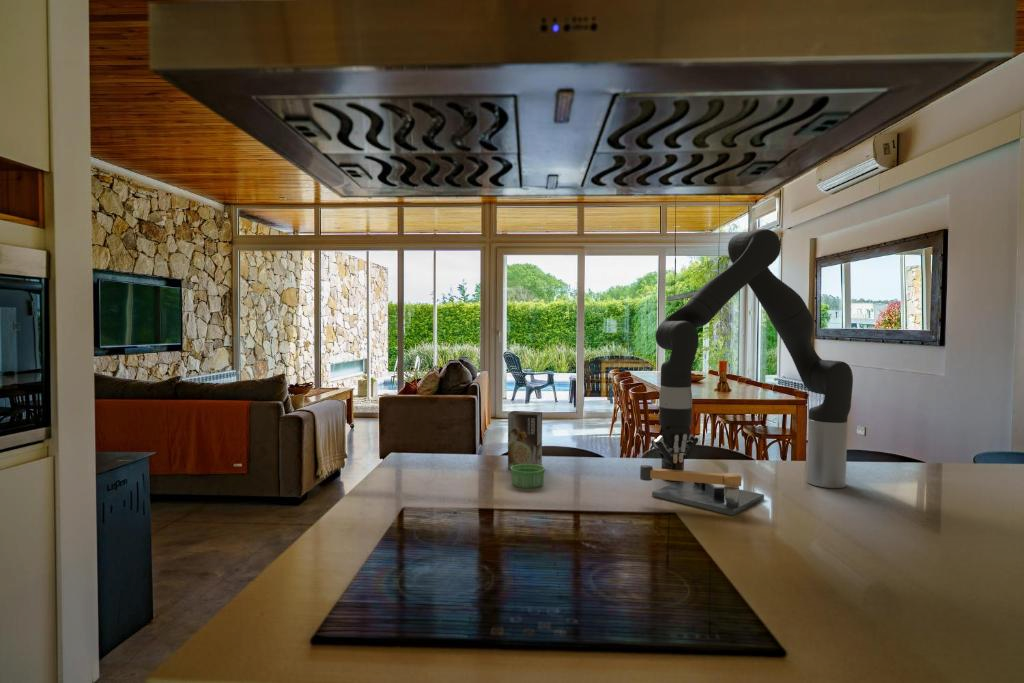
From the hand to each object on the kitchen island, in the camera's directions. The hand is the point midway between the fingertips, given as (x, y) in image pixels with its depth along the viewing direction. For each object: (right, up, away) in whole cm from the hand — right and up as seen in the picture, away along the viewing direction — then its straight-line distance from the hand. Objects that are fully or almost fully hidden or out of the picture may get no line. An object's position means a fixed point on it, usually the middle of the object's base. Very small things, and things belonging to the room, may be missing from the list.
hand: (674, 477), depth 139 cm
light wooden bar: (+2, 0, -4) cm, 4 cm away
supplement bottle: (+5, -5, +21) cm, 22 cm away
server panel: (+9, -6, +3) cm, 11 cm away
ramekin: (-35, -5, +13) cm, 37 cm away
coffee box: (-35, -5, +31) cm, 47 cm away
